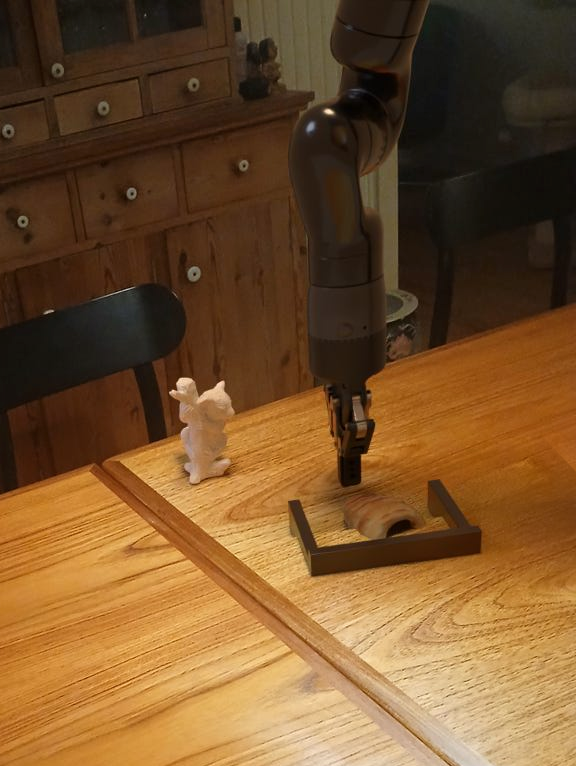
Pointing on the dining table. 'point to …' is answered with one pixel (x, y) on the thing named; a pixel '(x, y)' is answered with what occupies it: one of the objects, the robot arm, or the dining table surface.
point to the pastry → (380, 515)
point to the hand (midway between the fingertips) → (349, 482)
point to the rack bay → (391, 540)
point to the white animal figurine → (203, 428)
